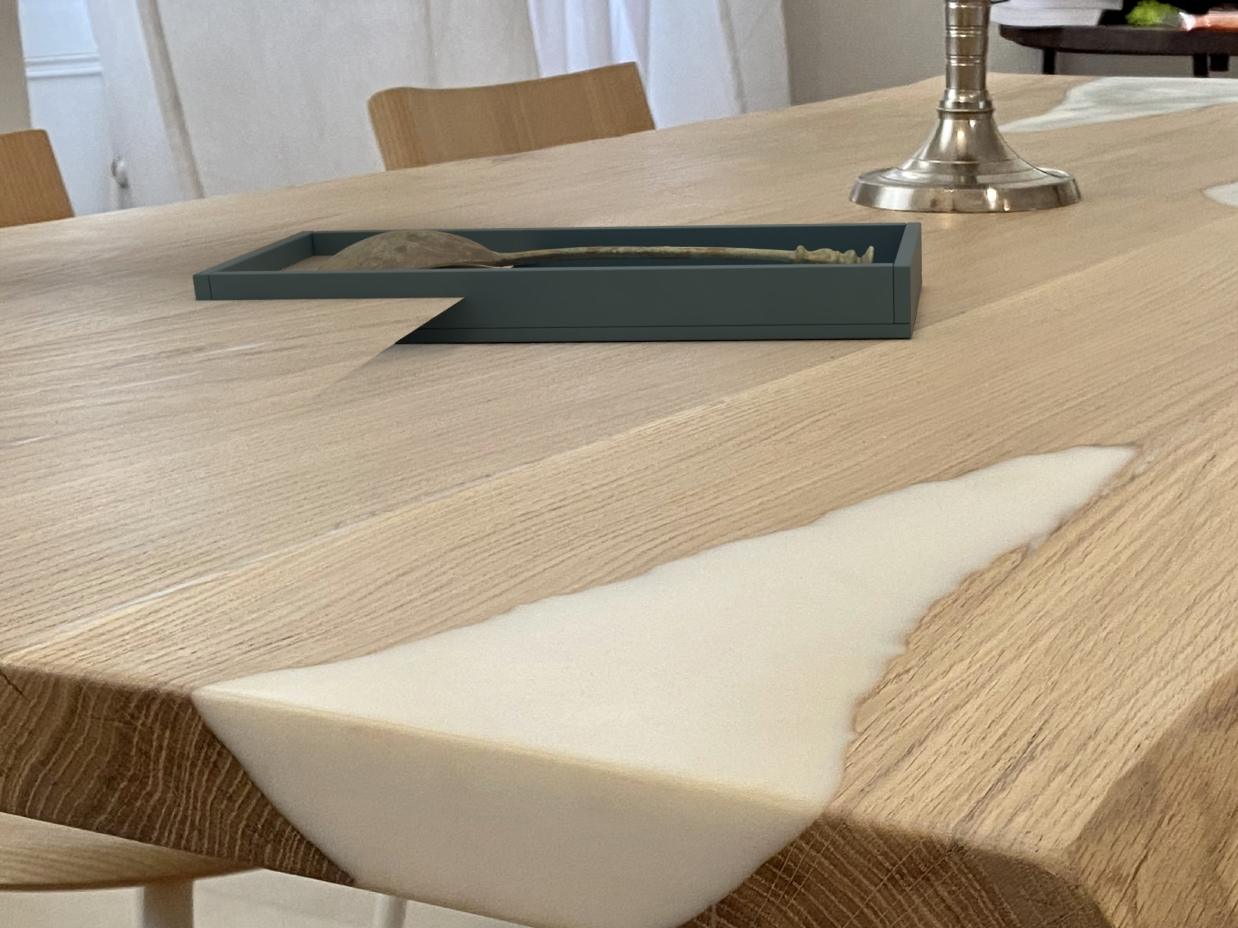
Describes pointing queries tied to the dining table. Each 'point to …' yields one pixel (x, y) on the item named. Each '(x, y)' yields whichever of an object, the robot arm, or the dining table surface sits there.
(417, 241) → the mushroom
